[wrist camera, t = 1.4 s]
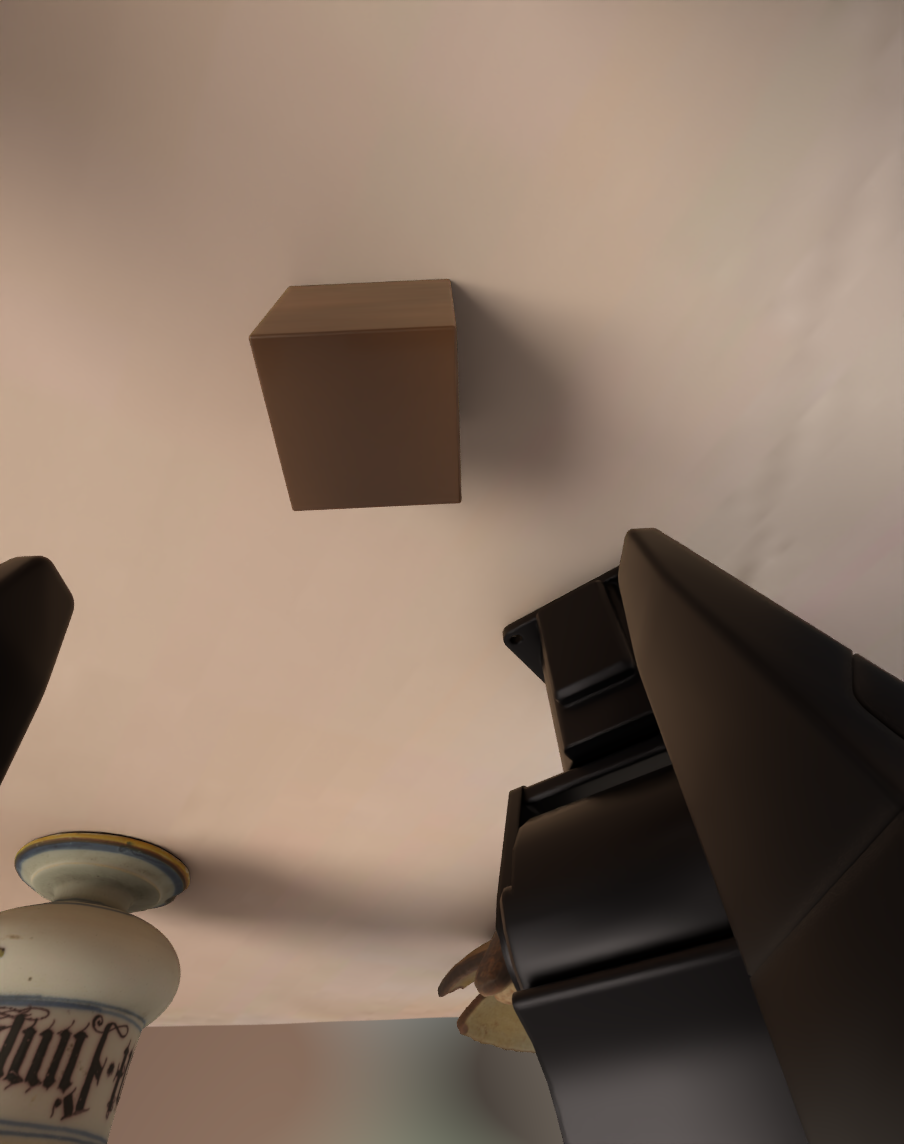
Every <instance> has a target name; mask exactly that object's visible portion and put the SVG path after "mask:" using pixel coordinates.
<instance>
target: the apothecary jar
mask: <svg viewBox="0 0 904 1144" xmlns="http://www.w3.org/2000/svg"><path fill="white" fill-rule="evenodd" d="M15 869H16V871H17V873H18V875H19V876H20V878H21V879H22V880H23V881H24V882H25V883H26V884H27V885H28V886H30V887H31V888H32V889H33V890H34V891H36V892H37V893H38V894H39V895H41V896H42V897H44V898H46V899H48V900H51V901H52V902H49V903H43V904H36V905H30V906H24V907H18V908H14V909H9V910H6V911H2V912H0V1144H107V1141H108V1137H109V1133H110V1129H111V1126H112V1122H113V1119H114V1115H115V1111H116V1108H117V1105H118V1102H119V1099H120V1095H121V1091H122V1088H123V1085H124V1081H125V1078H126V1075H127V1072H128V1069H129V1065H130V1062H131V1059H132V1057H133V1054H134V1051H135V1048H136V1045H137V1042H138V1040H139V1037H140V1034H141V1031H142V1029H143V1028H145V1027H146V1026H148V1025H149V1024H150V1023H152V1022H153V1021H154V1020H156V1019H157V1018H158V1017H159V1016H160V1015H161V1014H162V1013H163V1012H164V1011H165V1010H166V1009H167V1007H168V1006H169V1005H170V1003H171V1002H172V1000H173V998H174V996H175V994H176V992H177V989H178V986H179V982H180V964H179V959H178V956H177V954H176V952H175V950H174V948H173V946H172V945H171V943H170V942H169V940H168V939H167V938H166V937H165V936H164V935H163V934H162V933H161V932H160V931H159V930H158V929H156V928H155V927H154V926H152V925H151V924H149V923H148V922H146V921H144V920H142V919H141V918H139V917H136V916H134V915H132V914H130V913H133V912H138V911H144V910H147V909H152V908H157V907H161V906H164V905H167V904H169V903H170V902H172V901H173V900H174V899H175V897H176V895H179V894H180V893H182V892H183V891H184V890H186V889H187V888H188V886H189V883H190V875H189V871H188V869H187V868H186V866H185V865H184V864H183V863H182V862H181V861H180V860H178V859H177V858H176V857H174V856H173V855H171V854H170V853H168V852H167V851H165V850H163V849H161V848H159V847H156V846H154V845H151V844H149V843H145V842H143V841H139V840H136V839H132V838H128V837H123V836H117V835H109V834H98V833H60V834H55V835H50V836H47V837H43V838H38V839H36V840H33V841H31V842H29V843H28V844H26V845H25V846H24V847H22V848H21V849H20V850H19V852H18V853H17V855H16V857H15Z"/></svg>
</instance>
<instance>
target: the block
mask: <svg viewBox="0 0 904 1144" xmlns="http://www.w3.org/2000/svg"><path fill="white" fill-rule="evenodd" d="M249 341H250V345H251V349H252V353H253V357H254V360H255V364H256V368H257V372H258V376H259V380H260V384H261V388H262V392H263V396H264V400H265V404H266V407H267V411H268V415H269V419H270V423H271V427H272V431H273V435H274V439H275V443H276V447H277V451H278V454H279V458H280V462H281V466H282V470H283V474H284V478H285V482H286V486H287V490H288V494H289V498H290V501H291V505H292V509H293V510H294V511H304V510H325V509H346V508H366V507H387V506H408V505H429V504H450V503H460V502H461V500H462V494H461V460H460V426H459V391H458V357H457V327H456V320H455V312H454V304H453V297H452V289H451V282H450V280H449V279H436V280H415V281H394V282H372V283H351V284H330V285H309V286H290V287H288V288H287V289H286V291H285V292H284V293H283V294H282V296H281V297H280V298H279V299H278V301H277V302H276V303H275V304H274V306H273V307H272V308H271V309H270V311H269V312H268V313H267V314H266V316H265V317H264V318H263V319H262V321H261V322H260V323H259V324H258V326H257V327H256V328H255V329H254V331H253V332H252V333H251V334H250V336H249Z"/></svg>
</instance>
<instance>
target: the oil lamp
mask: <svg viewBox="0 0 904 1144" xmlns="http://www.w3.org/2000/svg"><path fill="white" fill-rule="evenodd" d="M474 981H475V982H474ZM472 982H474V983H475V986H476V988H477V990H478V992H479V993H480V994H479V995H478V996H477V997H476V998H475V999H474V1000H473V1001H472V1002H471V1004H470V1005H469V1006H468V1007H467V1008H466V1009H465V1011H464V1012H463V1013H462V1014H461V1016H460V1017H459V1019H458V1021H457V1027H458V1029H459V1031H460V1034H462V1035H466V1036H468V1037H471V1038H472V1039H473V1040H474V1041H479V1042H480V1043H483V1044H492V1045H494V1046H496V1047H500V1048H502V1049H505V1050H514V1051H516V1052H517V1051H520V1052H532V1053H536V1052H535V1049H534V1047H533V1044H532V1042H531V1040H530V1038H529V1037H528V1035H527V1033H526V1031H525V1029H524V1027H523V1025H522V1024H521V1022H520V1020H519V1018H518V1016H517V1014H516V1013H515V1010H514V1008H513V1005H512V994H513V993H514V992H517V991H516V989H515V987H514V984H513V982H512V980H511V977H510V975H509V973H508V970H507V967H506V964H505V960H504V957H503V954H502V950H501V945H500V940H499V937H498V934H497V931H495V934H494V936H493V938H492V940H490V941H488V942H486V943H485V944H483V945H481V946H480V947H478V948H476V949H475V950H473V951H472V952H471V953H469V954H468V955H467V956H466V957H465V958H463V959H462V960H461V961H460V962H458V963H457V964H456V965H455V966H454V967H453V968H452V969H451V970H450V971H449V972H448V973H447V975H446V976H445V977H444V979H443V980H442V982H441V984H440V986H439V987H438V994H439V997H443V996H445V995H446V994H448V993H451V992H454V991H455V990H457V989H459V988H462V989H464V988H465V987H466V986H468V985H469V984H471V983H472Z"/></svg>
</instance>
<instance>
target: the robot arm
mask: <svg viewBox="0 0 904 1144" xmlns="http://www.w3.org/2000/svg"><path fill="white" fill-rule="evenodd" d="M73 610H74V599H73V596H72V594H71V592H70V590H69V589H68V587H67V585H66V584H65V582H64V581H63V579H62V577H61V576H60V574H59V572H58V571H57V569H56V568H55V566H54V564H53V563H52V562H51V561H50V560H49V559H48V558H46V557H43V556H24V557H15V558H12V559H10V560H8V561H6V562H4V563H2V564H0V785H1V783H2V781H3V779H4V777H5V775H6V773H7V771H8V769H9V766H10V764H11V762H12V760H13V758H14V756H15V754H16V752H17V750H18V748H19V746H20V744H21V741H22V739H23V737H24V735H25V733H26V731H27V729H28V727H29V725H30V723H31V721H32V719H33V716H34V714H35V712H36V710H37V708H38V706H39V704H40V701H41V699H42V697H43V695H44V692H45V690H46V687H47V684H48V682H49V679H50V676H51V673H52V671H53V668H54V665H55V662H56V659H57V656H58V653H59V651H60V648H61V645H62V642H63V639H64V636H65V633H66V631H67V628H68V625H69V622H70V619H71V616H72V613H73ZM514 635H519V636H516V637H512V636H514ZM503 640H504V643H505V645H506V646H507V647H508V648H509V649H510V650H511V651H512V652H513V653H514V654H515V655H516V656H517V657H518V658H519V659H521V660H522V661H523V662H524V663H525V664H526V665H527V666H528V667H529V668H530V669H531V670H532V671H533V672H534V673H535V674H536V675H537V676H538V677H539V678H540V679H541V680H542V681H543V682H544V683H545V684H546V689H547V693H548V698H549V703H550V708H551V713H552V718H553V723H554V728H555V733H556V737H557V742H558V747H559V752H560V757H561V762H562V767H563V773H561V774H558V775H556V776H553V777H551V778H548V779H546V780H543V781H541V782H538V783H536V784H534V785H531V786H529V787H526V786H521V787H519V788H516V789H514V790H512V791H510V792H509V799H508V807H507V816H506V824H505V833H504V841H503V850H502V859H501V867H500V876H499V884H498V893H497V908H496V931H497V934H498V937H499V940H500V945H501V950H502V954H503V957H504V960H505V964H506V967H507V970H508V973H509V975H510V977H511V980H512V982H513V984H514V987H515V989H516V991H517V992H514V993H513V994H512V1005H513V1008H514V1010H515V1013H516V1014H517V1016H518V1018H519V1020H520V1022H521V1024H522V1025H523V1027H524V1029H525V1031H526V1033H527V1035H528V1037H529V1038H530V1040H531V1042H532V1044H533V1047H534V1049H535V1052H536V1054H537V1057H538V1060H539V1062H540V1065H541V1067H542V1070H543V1073H544V1075H545V1078H546V1081H547V1083H548V1086H549V1090H550V1093H551V1097H552V1100H553V1104H554V1107H555V1111H556V1114H557V1118H558V1122H559V1126H560V1130H561V1134H562V1138H563V1142H564V1144H904V682H903V681H901V680H900V679H898V678H896V677H895V676H893V675H891V674H890V673H888V672H886V671H885V670H883V669H881V668H880V667H878V666H877V665H875V664H873V663H872V662H870V661H869V660H867V659H865V658H864V657H862V656H861V655H859V654H854V655H853V653H852V650H851V649H849V648H847V647H846V646H844V645H843V644H841V643H839V642H838V641H836V640H835V639H833V638H831V637H830V636H828V635H826V634H825V633H823V632H822V631H820V630H818V629H817V628H815V627H814V626H812V625H810V624H809V623H807V622H806V621H804V620H802V619H801V618H799V617H798V616H796V615H794V614H793V613H791V612H790V611H788V610H786V609H785V608H783V607H782V606H780V605H778V604H777V603H775V602H773V601H772V600H770V599H769V598H767V597H765V596H764V595H762V594H761V593H759V592H757V591H756V590H754V589H753V588H751V587H749V586H748V585H746V584H745V583H743V582H741V581H740V580H738V579H737V578H735V577H733V576H732V575H730V574H729V573H727V572H725V571H724V570H722V569H720V568H719V567H717V566H716V565H714V564H712V563H711V562H709V561H708V560H706V559H704V558H703V557H701V556H700V555H698V554H696V553H695V552H693V551H692V550H690V549H688V548H687V547H685V546H684V545H682V544H680V543H679V542H677V541H676V540H674V539H672V538H671V537H669V536H667V535H666V534H664V533H663V532H661V531H659V530H658V529H656V528H639V529H630V530H629V531H628V532H627V534H626V536H625V540H624V545H623V550H622V555H621V560H620V565H619V566H617V567H616V568H614V569H612V570H610V571H608V572H606V573H604V574H603V575H601V576H599V577H597V578H595V579H593V580H591V581H590V582H588V583H586V584H584V585H582V586H580V587H578V588H577V589H575V590H573V591H571V592H569V593H567V594H565V595H564V596H562V597H560V598H558V599H556V600H554V601H552V602H551V603H549V604H547V605H545V606H543V607H541V608H539V609H538V610H536V611H534V612H532V613H530V614H528V615H526V616H525V617H523V618H521V619H519V620H517V621H515V622H513V623H512V624H510V625H508V626H507V627H505V628H504V630H503Z"/></svg>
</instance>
